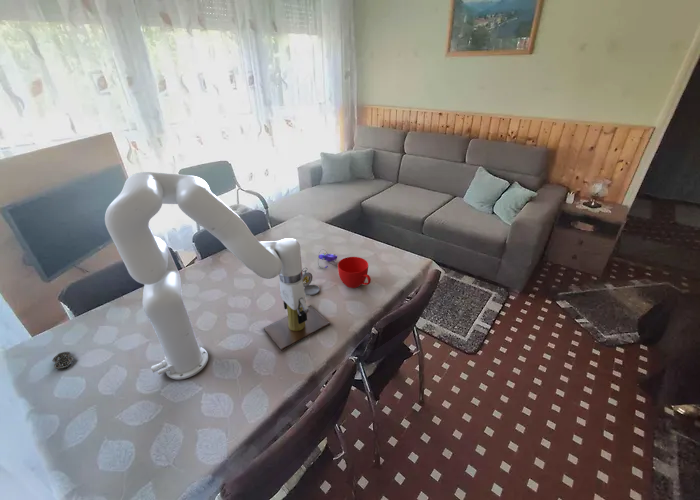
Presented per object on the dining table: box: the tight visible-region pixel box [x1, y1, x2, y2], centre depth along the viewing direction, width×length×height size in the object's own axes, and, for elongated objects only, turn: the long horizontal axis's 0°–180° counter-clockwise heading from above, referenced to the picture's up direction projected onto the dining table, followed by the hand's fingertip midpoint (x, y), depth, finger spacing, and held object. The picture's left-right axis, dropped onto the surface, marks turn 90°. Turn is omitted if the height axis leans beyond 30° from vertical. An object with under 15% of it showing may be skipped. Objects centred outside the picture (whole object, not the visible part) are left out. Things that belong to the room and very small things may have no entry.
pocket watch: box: [302, 267, 320, 296], centre depth 135 cm, size 8×8×10 cm
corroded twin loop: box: [51, 351, 74, 370], centre depth 104 cm, size 5×8×1 cm, turn 49°
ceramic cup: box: [337, 256, 372, 289], centre depth 137 cm, size 13×17×10 cm
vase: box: [286, 303, 305, 331], centre depth 114 cm, size 6×6×14 cm
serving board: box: [263, 304, 330, 352], centre depth 118 cm, size 20×13×1 cm, turn 129°
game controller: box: [317, 248, 338, 269], centre depth 154 cm, size 10×8×10 cm
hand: (295, 314), depth 115 cm, fingers open, 9 cm apart
